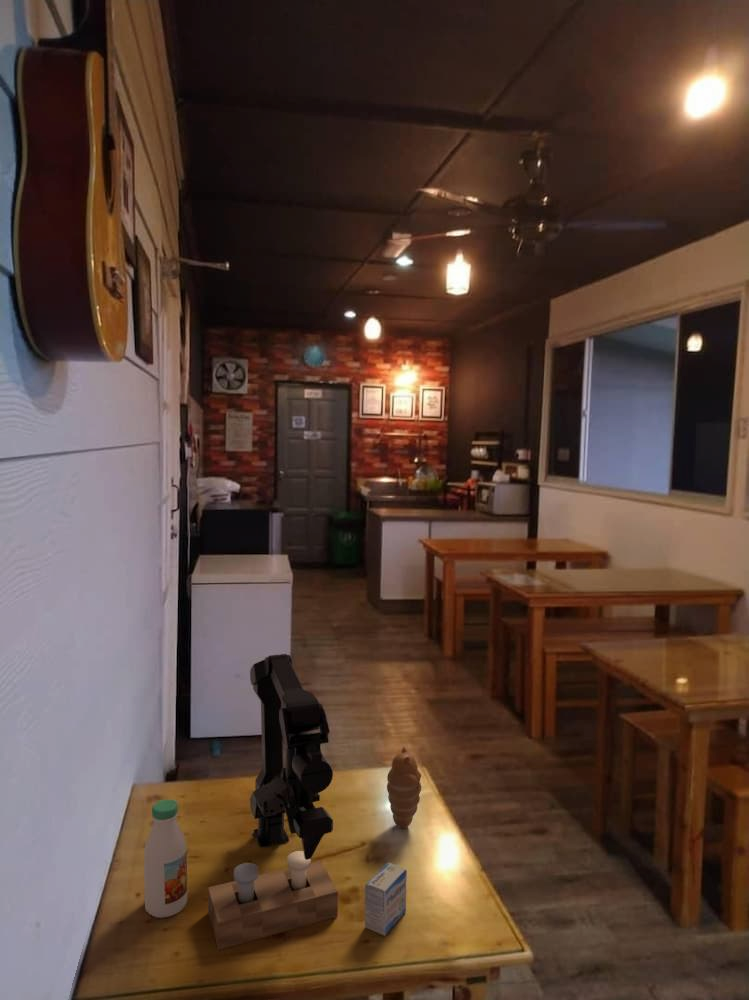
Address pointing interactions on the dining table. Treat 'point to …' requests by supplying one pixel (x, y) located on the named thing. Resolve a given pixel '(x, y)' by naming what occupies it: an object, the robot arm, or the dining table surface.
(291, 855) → the cream peg
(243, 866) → the grey peg
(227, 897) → the walnut block
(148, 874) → the milk bottle
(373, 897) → the medicine box
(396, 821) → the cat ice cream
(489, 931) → the dining table surface
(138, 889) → the dining table surface
